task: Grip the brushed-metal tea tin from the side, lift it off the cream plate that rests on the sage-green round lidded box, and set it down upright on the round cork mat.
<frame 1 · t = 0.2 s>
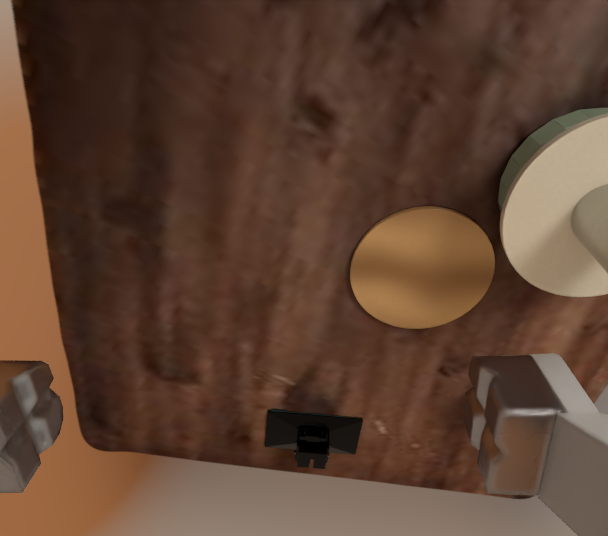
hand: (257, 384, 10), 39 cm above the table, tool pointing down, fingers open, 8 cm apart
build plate: (312, 430, 69), on the table
tin: (607, 214, 43), point 7 cm above the table, touching plate
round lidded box: (574, 182, 49), on the table
plate: (605, 212, 43), on the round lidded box, point 6 cm above the table
mat: (420, 270, 54), on the table
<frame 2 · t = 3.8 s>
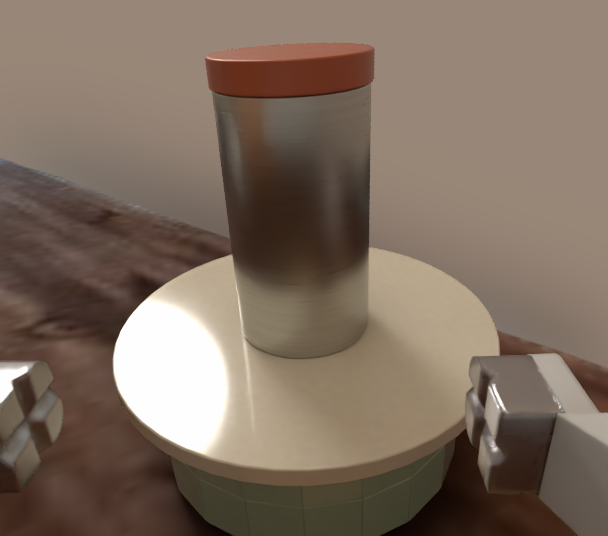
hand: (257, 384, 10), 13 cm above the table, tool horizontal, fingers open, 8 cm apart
tin: (304, 320, 24), point 7 cm above the table, touching plate
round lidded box: (310, 429, 27), on the table
plate: (304, 327, 24), on the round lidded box, point 6 cm above the table
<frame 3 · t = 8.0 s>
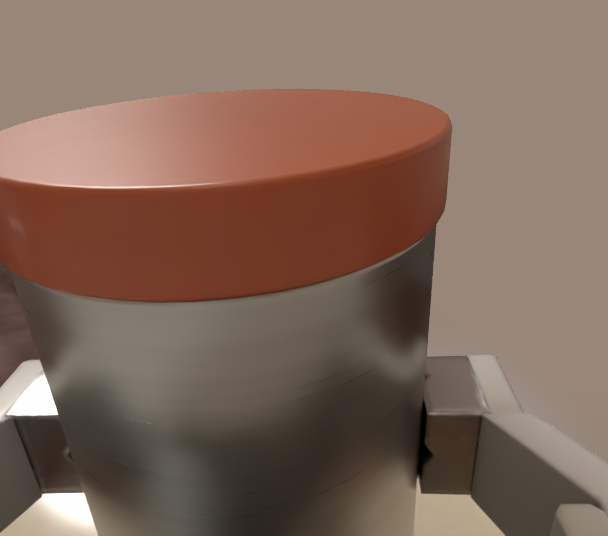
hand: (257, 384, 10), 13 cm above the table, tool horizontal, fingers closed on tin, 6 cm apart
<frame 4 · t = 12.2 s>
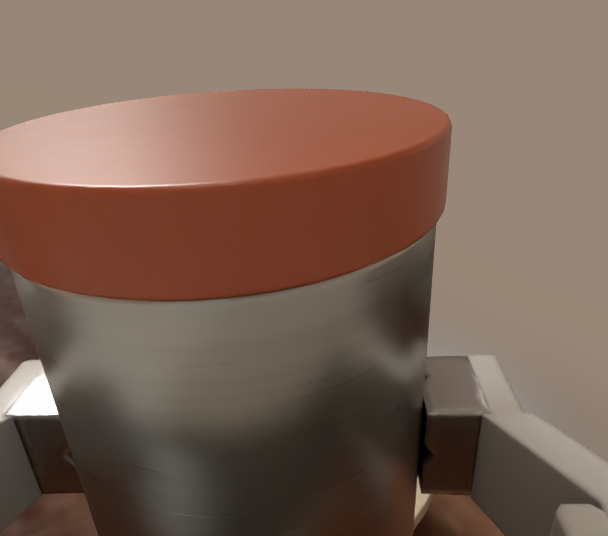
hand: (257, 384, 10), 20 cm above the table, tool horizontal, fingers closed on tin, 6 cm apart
plate: (275, 431, 27), on the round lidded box, point 6 cm above the table
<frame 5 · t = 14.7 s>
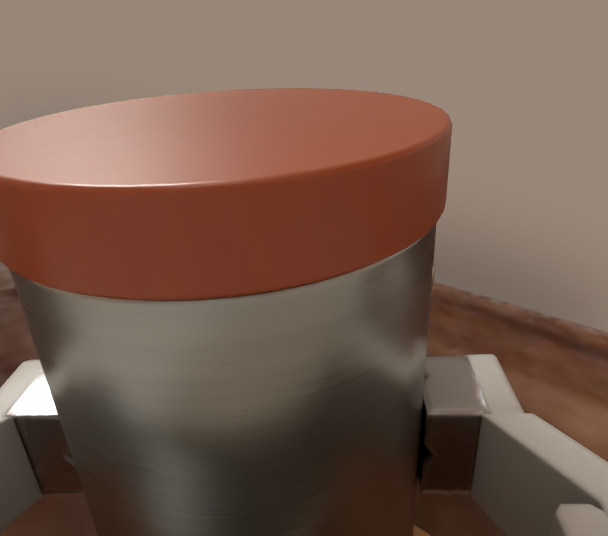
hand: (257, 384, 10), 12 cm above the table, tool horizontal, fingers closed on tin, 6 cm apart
when the fingers open (7 cm above the table, at t = 16.5 s): tin stays where it is, resting on mat.
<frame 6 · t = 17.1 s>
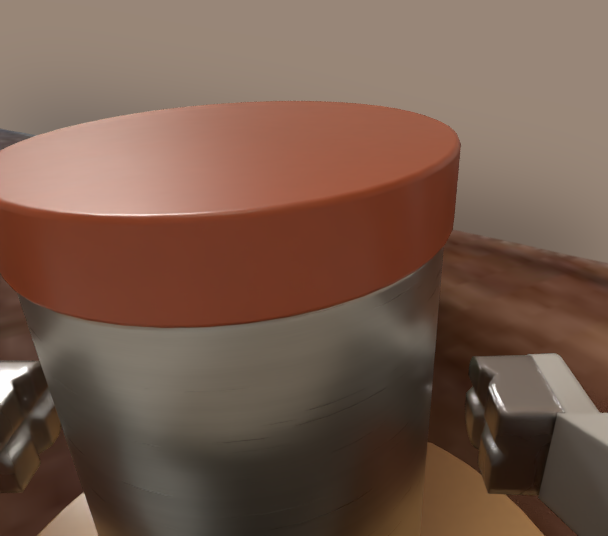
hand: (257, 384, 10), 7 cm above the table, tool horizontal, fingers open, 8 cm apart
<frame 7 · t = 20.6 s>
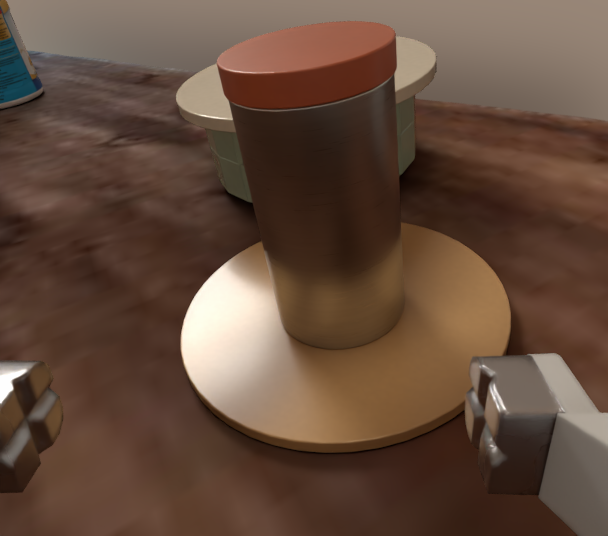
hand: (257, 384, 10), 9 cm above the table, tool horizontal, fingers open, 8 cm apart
beverage bottle: (13, 101, 67), on the table
tin: (340, 304, 24), point 1 cm above the table, touching mat
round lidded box: (316, 164, 38), on the table
plate: (304, 75, 34), on the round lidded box, point 6 cm above the table
mat: (340, 313, 24), on the table
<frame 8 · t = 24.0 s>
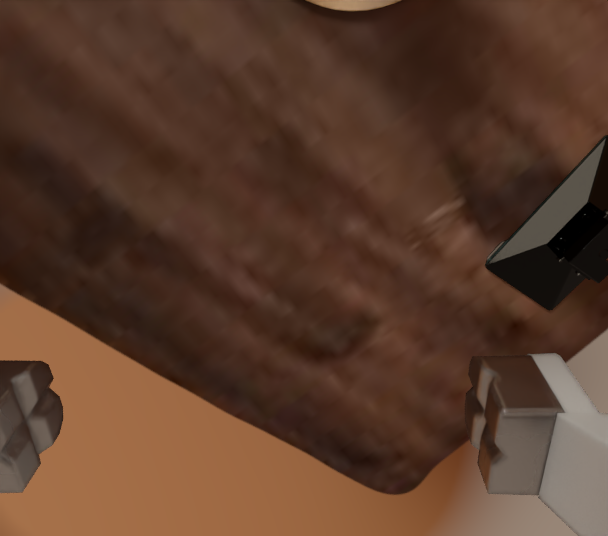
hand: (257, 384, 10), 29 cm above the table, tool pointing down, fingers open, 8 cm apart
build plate: (574, 227, 39), on the table
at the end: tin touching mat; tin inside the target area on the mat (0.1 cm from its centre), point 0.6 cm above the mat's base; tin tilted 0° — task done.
